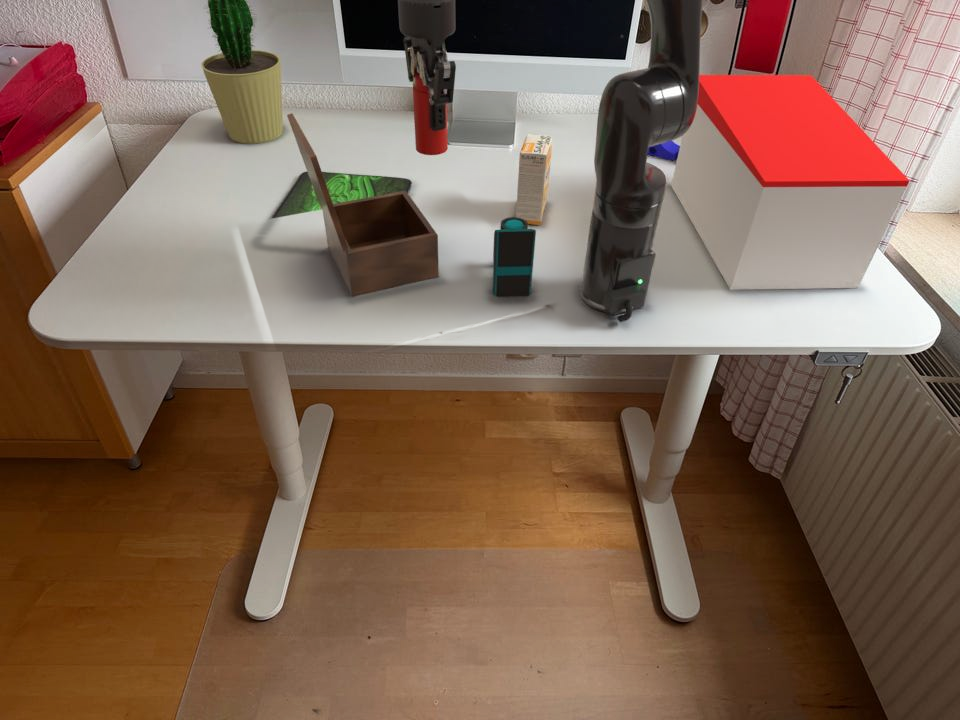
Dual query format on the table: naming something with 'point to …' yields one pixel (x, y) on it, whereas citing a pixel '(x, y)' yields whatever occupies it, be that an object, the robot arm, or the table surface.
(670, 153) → the cable clip
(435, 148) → the ketchup bottle
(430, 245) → the chest
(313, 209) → the mouse mat
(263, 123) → the potted cactus
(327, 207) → the chest lid
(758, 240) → the red-topped white box
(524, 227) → the black and teal battery
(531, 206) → the supplement box
